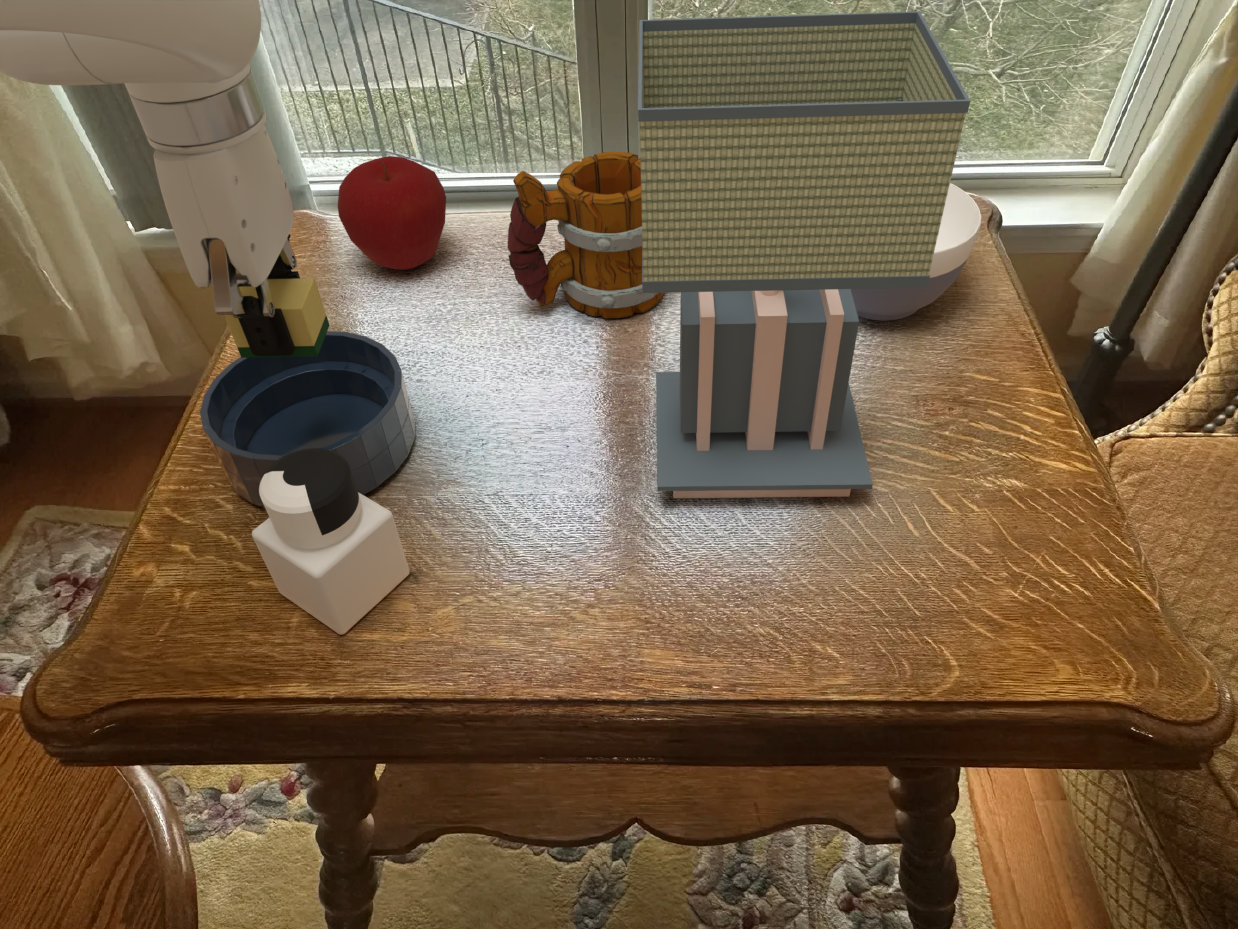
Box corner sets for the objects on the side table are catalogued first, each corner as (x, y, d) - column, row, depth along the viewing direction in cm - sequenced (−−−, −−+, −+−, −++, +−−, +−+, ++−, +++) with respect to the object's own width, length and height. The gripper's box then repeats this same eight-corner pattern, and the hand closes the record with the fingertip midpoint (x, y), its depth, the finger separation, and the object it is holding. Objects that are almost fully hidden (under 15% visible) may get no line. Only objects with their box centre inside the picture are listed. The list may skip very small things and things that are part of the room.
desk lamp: (850, 390, 85) (918, 9, 62) (878, 506, 75) (971, 103, 52) (647, 393, 85) (639, 18, 62) (647, 508, 75) (638, 112, 52)
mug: (687, 303, 95) (689, 165, 84) (533, 346, 91) (516, 206, 80) (644, 251, 102) (641, 117, 92) (500, 289, 98) (479, 153, 88)
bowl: (790, 251, 101) (799, 168, 94) (941, 250, 100) (961, 166, 93) (805, 342, 90) (816, 256, 83) (975, 342, 89) (1000, 254, 82)
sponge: (241, 358, 73) (221, 310, 69) (256, 326, 75) (237, 279, 72) (317, 356, 72) (301, 308, 69) (329, 325, 75) (314, 277, 72)
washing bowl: (313, 546, 74) (289, 490, 69) (188, 465, 81) (159, 408, 76) (454, 430, 83) (442, 372, 78) (330, 365, 90) (312, 310, 85)
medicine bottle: (348, 533, 75) (307, 422, 66) (412, 573, 72) (378, 461, 63) (277, 593, 71) (224, 483, 62) (342, 638, 68) (295, 528, 59)
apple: (342, 288, 99) (312, 187, 91) (371, 234, 107) (346, 136, 98) (443, 291, 98) (422, 189, 90) (466, 236, 106) (449, 137, 97)
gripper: (187, 55, 66) (266, 274, 79) (89, 172, 55) (200, 406, 68) (292, 51, 66) (353, 272, 79) (215, 168, 54) (303, 405, 67)
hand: (282, 332), depth 73 cm, fingers closed on sponge, 4 cm apart
